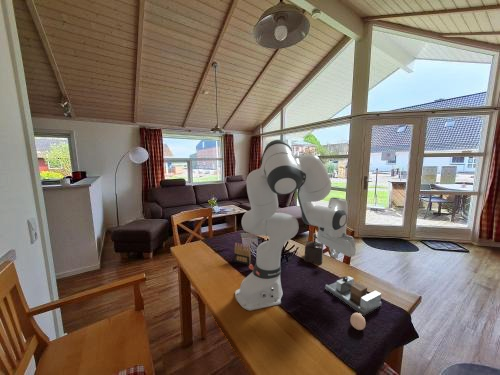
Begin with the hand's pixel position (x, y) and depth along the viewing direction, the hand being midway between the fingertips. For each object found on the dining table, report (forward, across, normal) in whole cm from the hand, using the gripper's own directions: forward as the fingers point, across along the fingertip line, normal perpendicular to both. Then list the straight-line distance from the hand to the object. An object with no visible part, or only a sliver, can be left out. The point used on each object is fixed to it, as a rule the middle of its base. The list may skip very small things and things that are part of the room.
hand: (334, 257), depth 104 cm
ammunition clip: (+15, +41, +31) cm, 53 cm away
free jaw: (+13, -7, 0) cm, 15 cm away
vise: (+15, -11, 0) cm, 18 cm away
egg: (+15, -24, +14) cm, 31 cm away
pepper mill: (+15, +22, -12) cm, 30 cm away
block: (+13, -14, 0) cm, 19 cm away
